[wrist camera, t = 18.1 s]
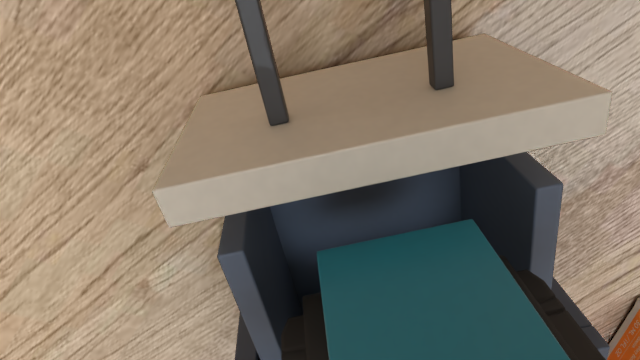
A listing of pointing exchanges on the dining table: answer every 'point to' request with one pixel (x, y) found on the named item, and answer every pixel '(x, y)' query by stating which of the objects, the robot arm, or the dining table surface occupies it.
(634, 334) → the cosmetic box
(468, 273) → the teal block
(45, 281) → the dining table surface
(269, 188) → the drawer
